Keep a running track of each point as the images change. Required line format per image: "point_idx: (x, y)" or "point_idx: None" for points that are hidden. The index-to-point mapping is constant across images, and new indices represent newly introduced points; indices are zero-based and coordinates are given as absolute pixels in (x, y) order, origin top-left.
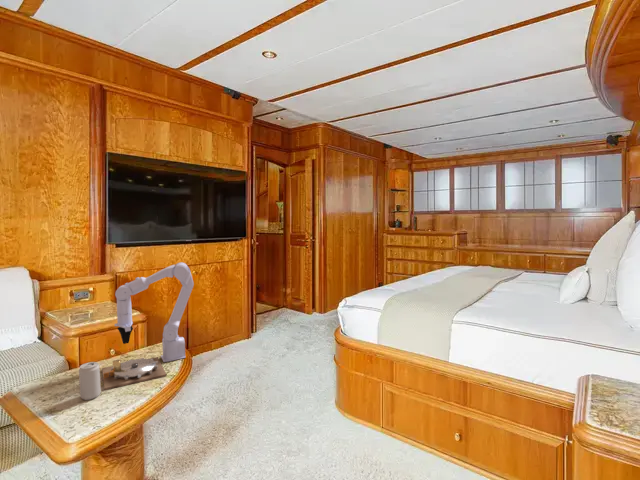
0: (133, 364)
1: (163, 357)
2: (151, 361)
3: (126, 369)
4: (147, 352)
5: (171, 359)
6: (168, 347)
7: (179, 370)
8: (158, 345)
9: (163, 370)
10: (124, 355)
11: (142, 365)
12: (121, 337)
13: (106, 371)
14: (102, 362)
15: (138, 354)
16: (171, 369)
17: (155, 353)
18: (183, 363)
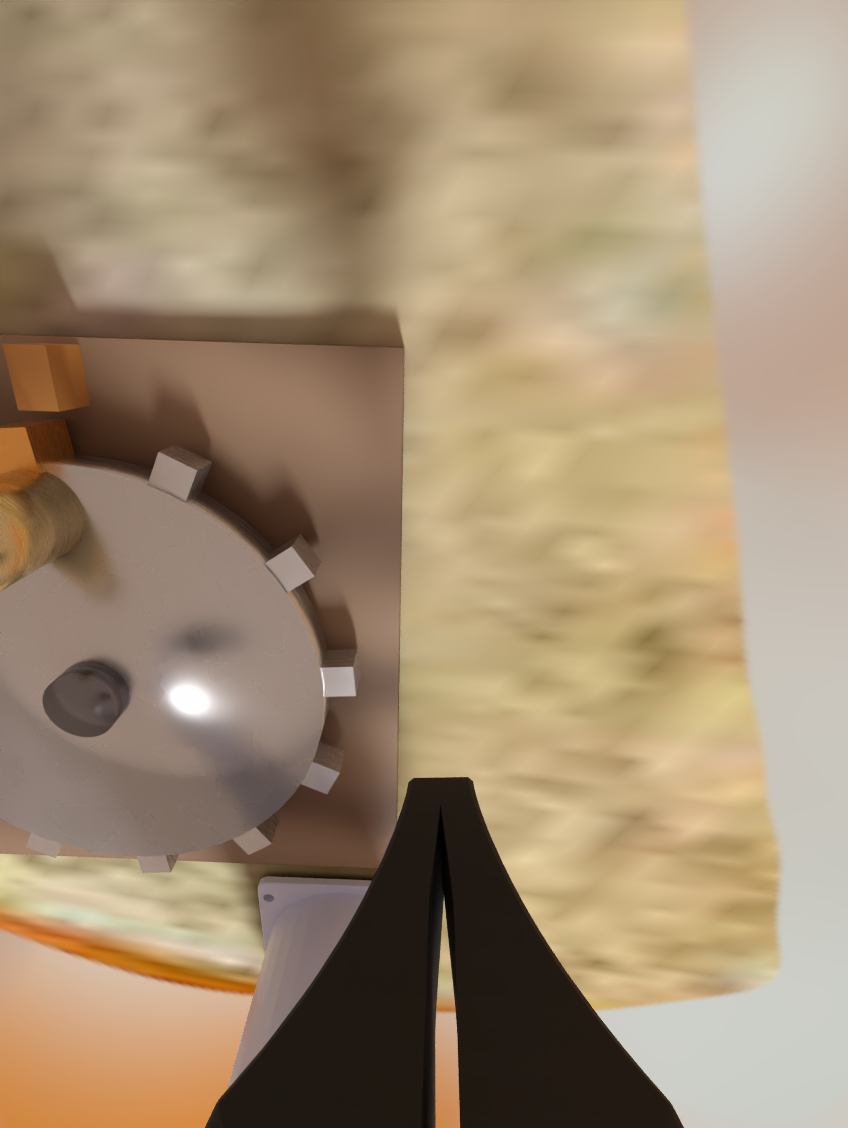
0: (72, 696)
1: (324, 904)
2: (169, 833)
3: (34, 607)
4: (632, 815)
5: (270, 931)
6: (238, 1059)
7: (35, 920)
8: (753, 913)
9: (27, 848)
10: (725, 626)
11: (92, 754)
12: (479, 867)
13: (248, 391)
14: (681, 372)
15: (640, 743)
16: (80, 885)
17: (548, 861)
18: (170, 964)
